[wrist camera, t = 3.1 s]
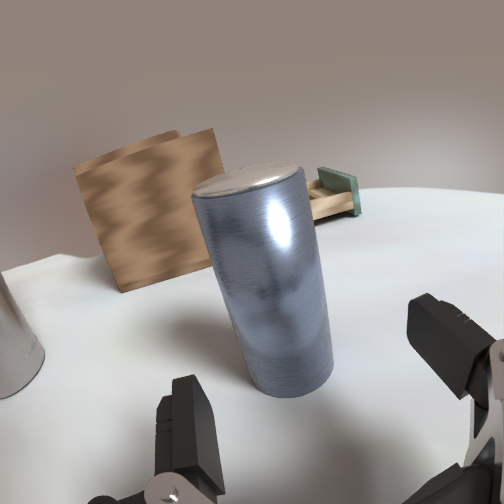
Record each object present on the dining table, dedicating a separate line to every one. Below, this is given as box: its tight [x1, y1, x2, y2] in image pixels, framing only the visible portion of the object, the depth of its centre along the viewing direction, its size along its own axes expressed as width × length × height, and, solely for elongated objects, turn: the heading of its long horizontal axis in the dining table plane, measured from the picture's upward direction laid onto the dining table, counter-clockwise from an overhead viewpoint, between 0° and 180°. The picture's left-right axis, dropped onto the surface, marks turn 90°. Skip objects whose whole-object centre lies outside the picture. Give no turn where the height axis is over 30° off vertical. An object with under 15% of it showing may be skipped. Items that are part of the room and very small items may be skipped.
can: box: [191, 161, 334, 398], centre depth 17 cm, size 5×5×12 cm
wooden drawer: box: [306, 167, 362, 220], centre depth 42 cm, size 17×11×5 cm, turn 101°
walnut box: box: [73, 128, 225, 293], centre depth 39 cm, size 16×14×16 cm
